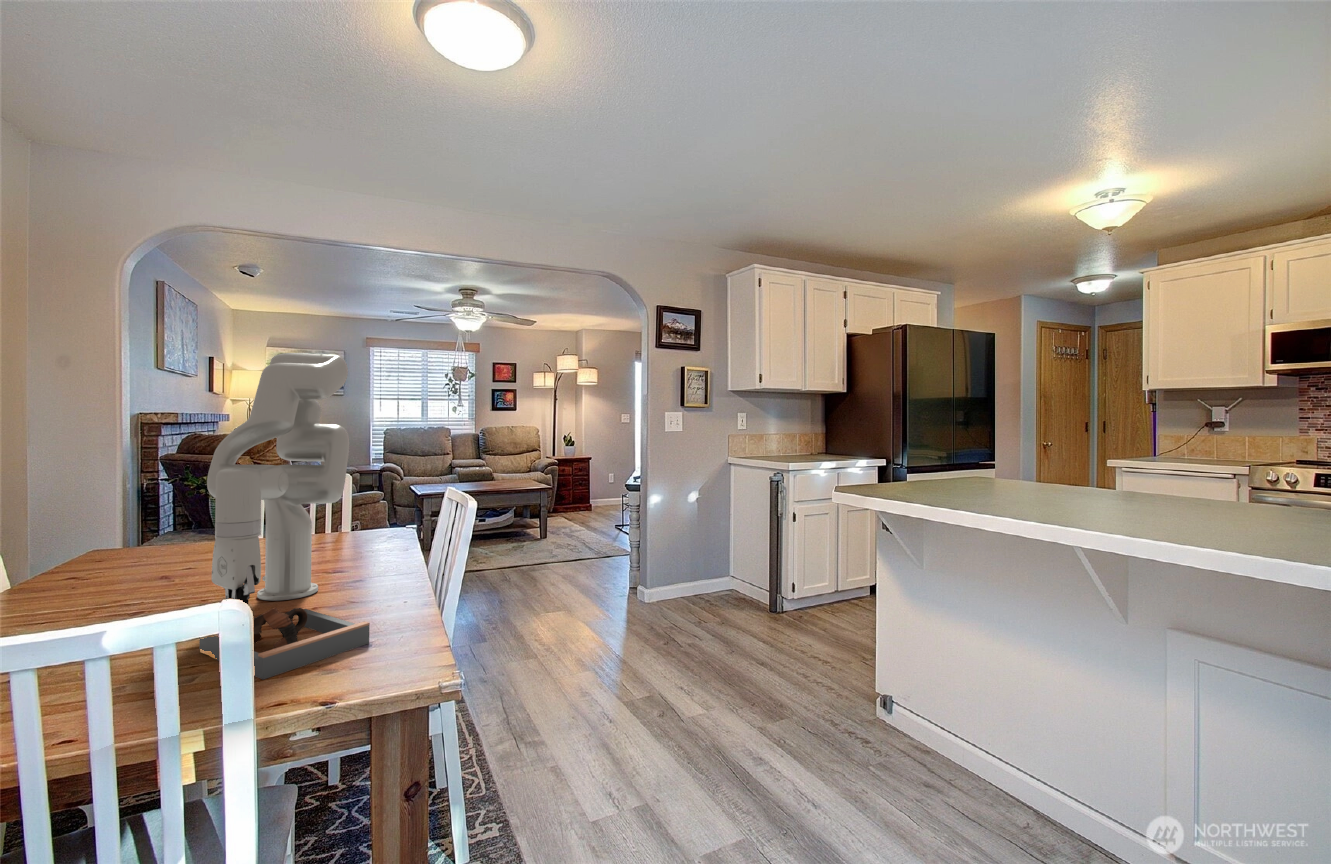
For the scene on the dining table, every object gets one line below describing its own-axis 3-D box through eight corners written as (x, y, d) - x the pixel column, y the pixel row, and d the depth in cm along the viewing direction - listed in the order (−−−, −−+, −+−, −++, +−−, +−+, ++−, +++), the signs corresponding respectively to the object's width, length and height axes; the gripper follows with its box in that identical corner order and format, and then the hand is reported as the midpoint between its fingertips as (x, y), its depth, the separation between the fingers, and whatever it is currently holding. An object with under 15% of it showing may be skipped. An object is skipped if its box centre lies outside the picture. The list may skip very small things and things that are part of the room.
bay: (199, 652, 108) (199, 630, 108) (305, 622, 124) (305, 604, 124) (263, 679, 97) (263, 655, 97) (369, 643, 114) (369, 622, 114)
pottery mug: (266, 663, 105) (242, 624, 105) (242, 675, 109) (219, 637, 109) (326, 626, 116) (304, 590, 115) (302, 638, 120) (281, 604, 120)
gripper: (198, 528, 120) (197, 618, 120) (236, 536, 112) (235, 632, 112) (240, 523, 126) (239, 608, 126) (278, 530, 119) (277, 621, 119)
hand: (237, 619), depth 119 cm, fingers closed
